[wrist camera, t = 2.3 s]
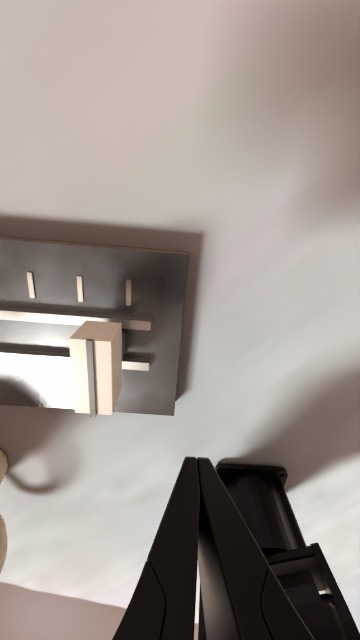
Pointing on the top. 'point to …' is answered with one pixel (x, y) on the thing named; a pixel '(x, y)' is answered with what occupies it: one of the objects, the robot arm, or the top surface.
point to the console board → (89, 319)
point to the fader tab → (97, 366)
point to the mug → (0, 529)
